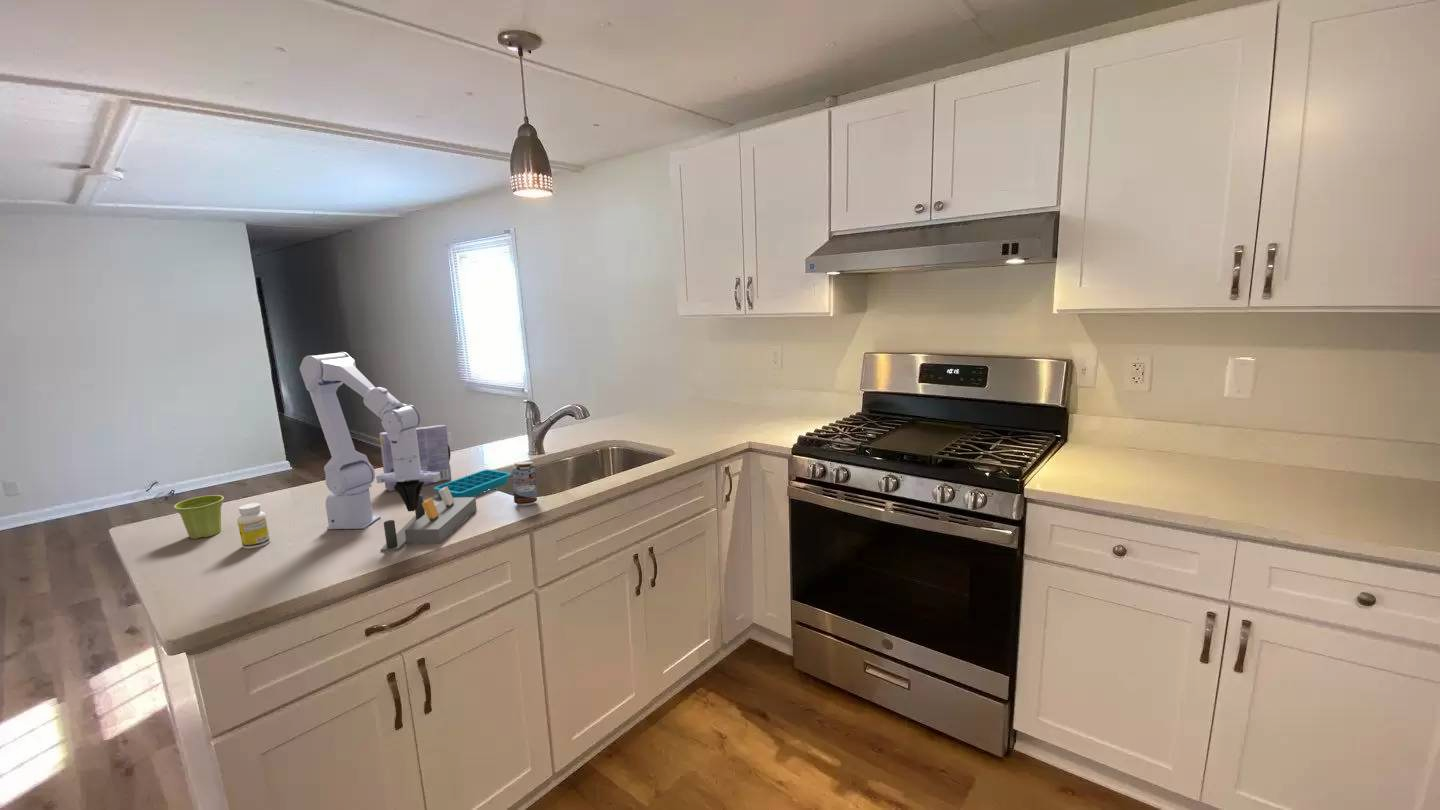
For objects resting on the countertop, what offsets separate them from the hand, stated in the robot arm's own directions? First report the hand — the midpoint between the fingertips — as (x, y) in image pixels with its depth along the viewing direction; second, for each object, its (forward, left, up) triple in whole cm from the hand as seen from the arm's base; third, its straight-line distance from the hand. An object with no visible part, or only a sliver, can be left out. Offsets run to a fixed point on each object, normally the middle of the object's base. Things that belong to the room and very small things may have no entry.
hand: (412, 509), depth 147 cm
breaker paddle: (+5, 0, -2) cm, 5 cm away
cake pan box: (-18, +39, -6) cm, 43 cm away
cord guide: (-2, 0, -6) cm, 7 cm away
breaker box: (+5, +5, -6) cm, 9 cm away
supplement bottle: (-36, -5, -6) cm, 36 cm away
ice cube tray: (+2, +33, -7) cm, 34 cm away
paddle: (+5, +9, -2) cm, 10 cm away
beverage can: (+21, +19, -6) cm, 29 cm away
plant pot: (-54, +2, -6) cm, 54 cm away
